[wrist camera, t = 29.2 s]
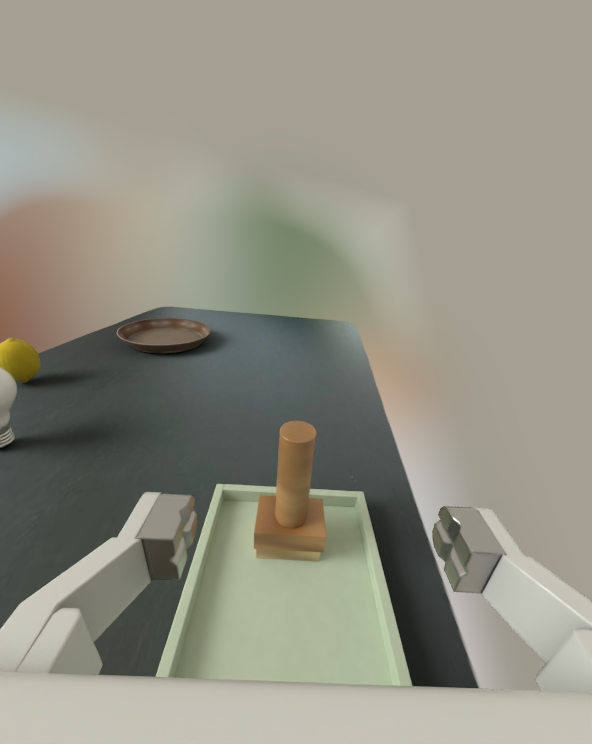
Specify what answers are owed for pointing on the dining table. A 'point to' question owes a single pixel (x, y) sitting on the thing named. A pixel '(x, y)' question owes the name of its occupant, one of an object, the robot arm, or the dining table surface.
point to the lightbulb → (6, 406)
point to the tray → (286, 602)
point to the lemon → (19, 359)
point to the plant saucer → (164, 335)
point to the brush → (292, 502)
